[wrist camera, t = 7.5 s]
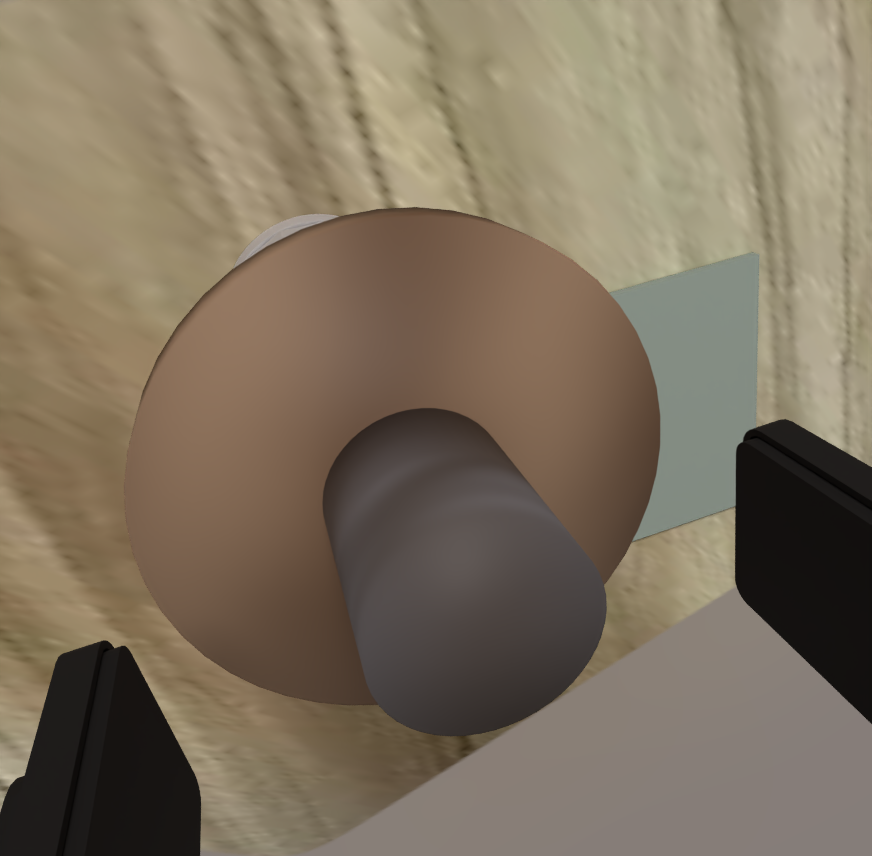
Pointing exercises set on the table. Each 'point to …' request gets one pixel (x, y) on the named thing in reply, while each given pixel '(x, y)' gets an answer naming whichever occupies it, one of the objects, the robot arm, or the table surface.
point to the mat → (698, 382)
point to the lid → (396, 468)
